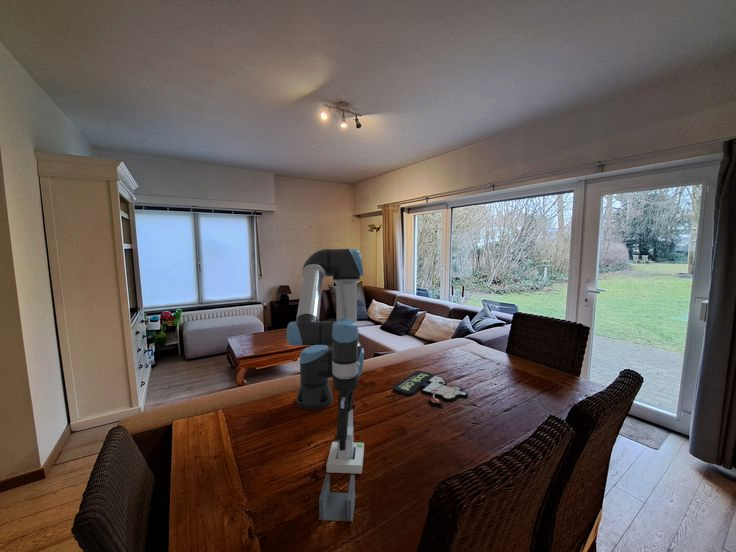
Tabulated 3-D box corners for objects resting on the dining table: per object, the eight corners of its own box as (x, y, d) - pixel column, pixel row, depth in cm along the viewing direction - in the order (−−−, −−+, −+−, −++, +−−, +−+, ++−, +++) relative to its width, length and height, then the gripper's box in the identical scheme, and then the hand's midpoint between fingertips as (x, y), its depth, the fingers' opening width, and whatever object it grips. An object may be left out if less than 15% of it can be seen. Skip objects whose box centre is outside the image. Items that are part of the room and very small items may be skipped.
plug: (338, 467, 87) (338, 434, 86) (340, 457, 91) (340, 426, 90) (352, 467, 87) (351, 435, 86) (353, 457, 91) (353, 426, 90)
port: (326, 474, 84) (326, 463, 84) (332, 450, 94) (332, 440, 94) (361, 475, 84) (361, 464, 83) (364, 451, 94) (363, 441, 93)
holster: (318, 521, 69) (318, 499, 69) (325, 494, 77) (324, 473, 77) (352, 523, 69) (352, 500, 68) (355, 495, 77) (355, 475, 76)
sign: (417, 370, 156) (475, 385, 138) (417, 373, 156) (475, 389, 138) (389, 388, 135) (453, 409, 116) (389, 392, 135) (453, 413, 117)
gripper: (353, 394, 74) (354, 474, 76) (361, 359, 99) (361, 420, 101) (324, 393, 75) (325, 473, 76) (339, 358, 99) (339, 419, 101)
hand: (346, 443), depth 88 cm, fingers open, 13 cm apart
